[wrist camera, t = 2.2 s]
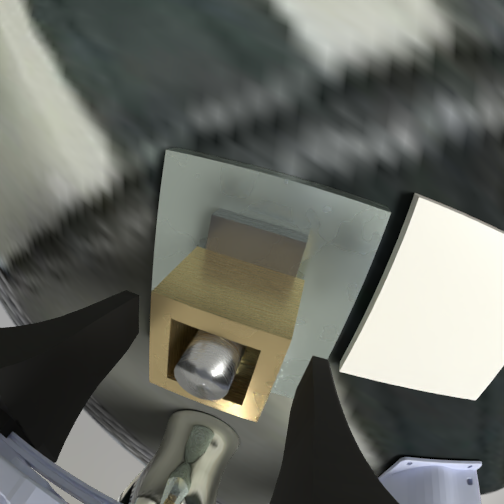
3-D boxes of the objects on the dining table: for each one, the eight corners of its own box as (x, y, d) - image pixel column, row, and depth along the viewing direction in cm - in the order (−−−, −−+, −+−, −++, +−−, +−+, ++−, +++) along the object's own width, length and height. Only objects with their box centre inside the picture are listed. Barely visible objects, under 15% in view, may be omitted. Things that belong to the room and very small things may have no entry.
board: (555, 258, 11) (562, 265, 11) (472, 391, 16) (475, 400, 15) (414, 192, 13) (419, 196, 12) (339, 361, 17) (339, 371, 16)
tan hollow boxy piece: (304, 280, 13) (291, 340, 10) (275, 360, 15) (256, 422, 12) (197, 246, 14) (151, 291, 10) (185, 329, 16) (149, 381, 12)
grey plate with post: (387, 206, 13) (425, 278, 7) (306, 390, 18) (287, 484, 12) (176, 147, 14) (76, 174, 8) (156, 338, 20) (100, 411, 14)
